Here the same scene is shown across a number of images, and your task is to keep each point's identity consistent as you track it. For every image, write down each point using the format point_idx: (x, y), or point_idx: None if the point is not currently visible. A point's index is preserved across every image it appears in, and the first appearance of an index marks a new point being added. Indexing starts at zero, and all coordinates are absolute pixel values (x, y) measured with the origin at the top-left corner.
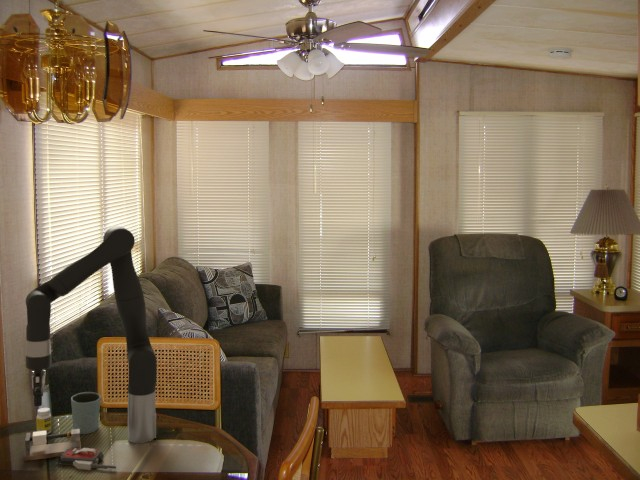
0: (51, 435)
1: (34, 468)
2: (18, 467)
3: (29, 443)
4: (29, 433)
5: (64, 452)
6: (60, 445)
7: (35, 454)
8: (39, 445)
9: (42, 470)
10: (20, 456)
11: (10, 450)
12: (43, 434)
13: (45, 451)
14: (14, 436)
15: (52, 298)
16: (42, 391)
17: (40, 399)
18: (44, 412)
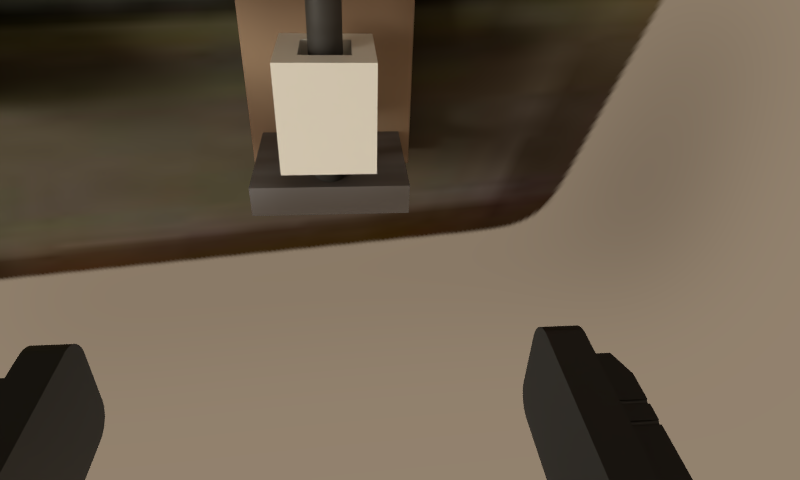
0: (329, 3)
1: (537, 80)
2: (482, 171)
3: (392, 169)
4: (266, 194)
5: None
6: None
7: (401, 94)
8: (246, 74)
9: (590, 28)
10: None
11: (228, 232)
12: (365, 87)
13: (370, 24)
14: (5, 232)
15: None
16: (35, 421)
17: (617, 428)
18: None
